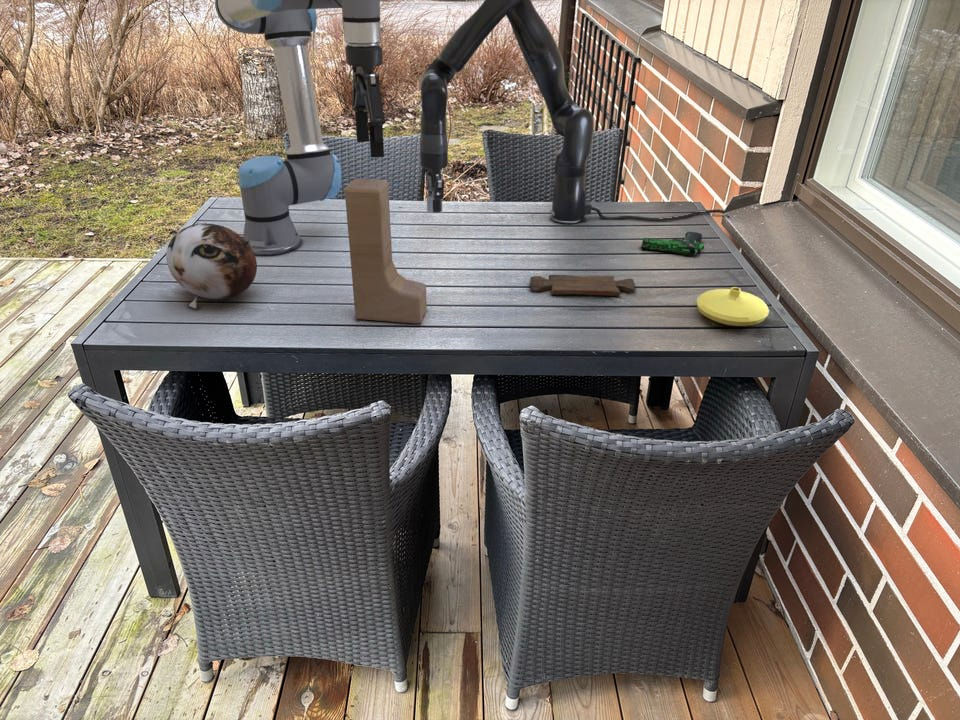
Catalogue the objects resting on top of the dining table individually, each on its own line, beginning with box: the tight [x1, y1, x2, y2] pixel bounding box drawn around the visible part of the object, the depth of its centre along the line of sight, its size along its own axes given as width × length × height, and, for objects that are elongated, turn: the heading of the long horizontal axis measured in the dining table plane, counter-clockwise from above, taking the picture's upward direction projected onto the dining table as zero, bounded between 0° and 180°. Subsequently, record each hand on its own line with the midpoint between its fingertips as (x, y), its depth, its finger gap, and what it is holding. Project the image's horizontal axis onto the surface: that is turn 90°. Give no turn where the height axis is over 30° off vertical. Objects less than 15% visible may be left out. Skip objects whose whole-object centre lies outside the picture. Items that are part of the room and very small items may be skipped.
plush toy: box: [165, 222, 258, 309], centre depth 165 cm, size 22×18×20 cm
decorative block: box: [344, 177, 428, 324], centre depth 154 cm, size 8×15×30 cm, turn 82°
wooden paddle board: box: [529, 274, 635, 297], centre depth 175 cm, size 26×2×10 cm
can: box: [426, 192, 443, 214], centre depth 204 cm, size 4×4×5 cm
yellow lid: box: [696, 286, 770, 327], centre depth 161 cm, size 16×16×7 cm
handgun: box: [640, 231, 705, 257], centre depth 200 cm, size 16×3×15 cm
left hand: (370, 149), depth 157 cm, fingers open, 13 cm apart
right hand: (434, 208), depth 205 cm, fingers closed on can, 4 cm apart
